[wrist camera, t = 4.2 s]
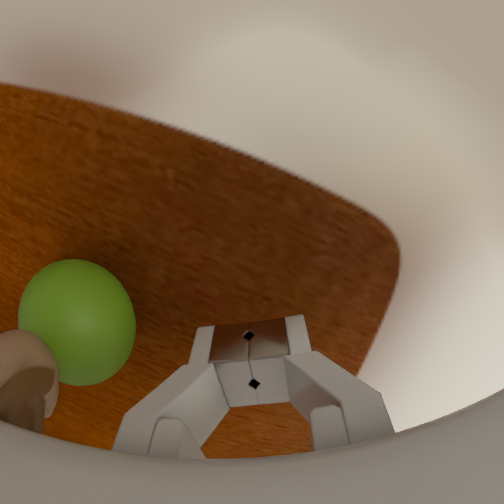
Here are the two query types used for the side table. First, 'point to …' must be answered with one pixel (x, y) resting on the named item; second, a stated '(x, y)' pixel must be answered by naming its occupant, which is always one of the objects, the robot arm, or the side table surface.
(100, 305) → the snail figurine
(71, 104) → the side table surface
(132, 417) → the robot arm
